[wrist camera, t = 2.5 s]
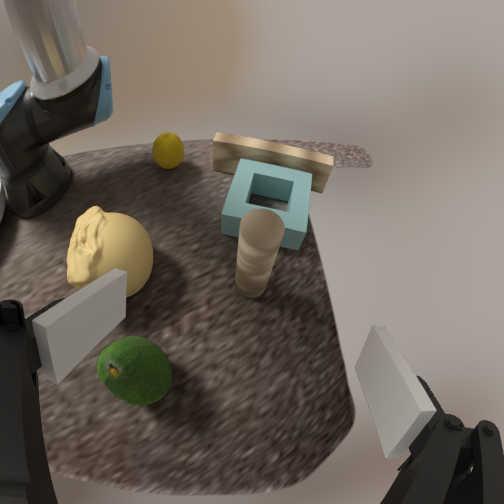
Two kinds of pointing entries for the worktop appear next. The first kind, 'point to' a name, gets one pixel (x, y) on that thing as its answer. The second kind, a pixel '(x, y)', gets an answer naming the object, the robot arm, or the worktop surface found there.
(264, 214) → the dowel
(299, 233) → the socket block
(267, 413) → the worktop surface
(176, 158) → the lemon
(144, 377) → the avocado
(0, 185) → the serving bowl
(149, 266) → the sculpture
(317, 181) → the oak wall
